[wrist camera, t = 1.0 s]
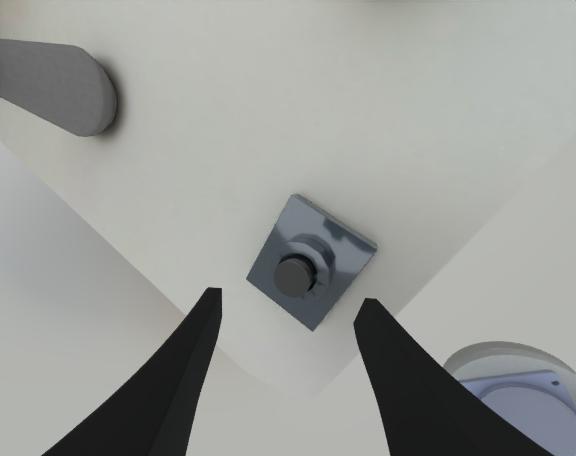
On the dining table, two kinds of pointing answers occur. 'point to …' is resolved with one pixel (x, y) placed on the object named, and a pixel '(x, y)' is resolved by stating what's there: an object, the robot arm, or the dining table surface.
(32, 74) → the coffee pot
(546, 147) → the dining table surface
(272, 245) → the grey button housing
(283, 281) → the dark grey push button
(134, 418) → the robot arm
